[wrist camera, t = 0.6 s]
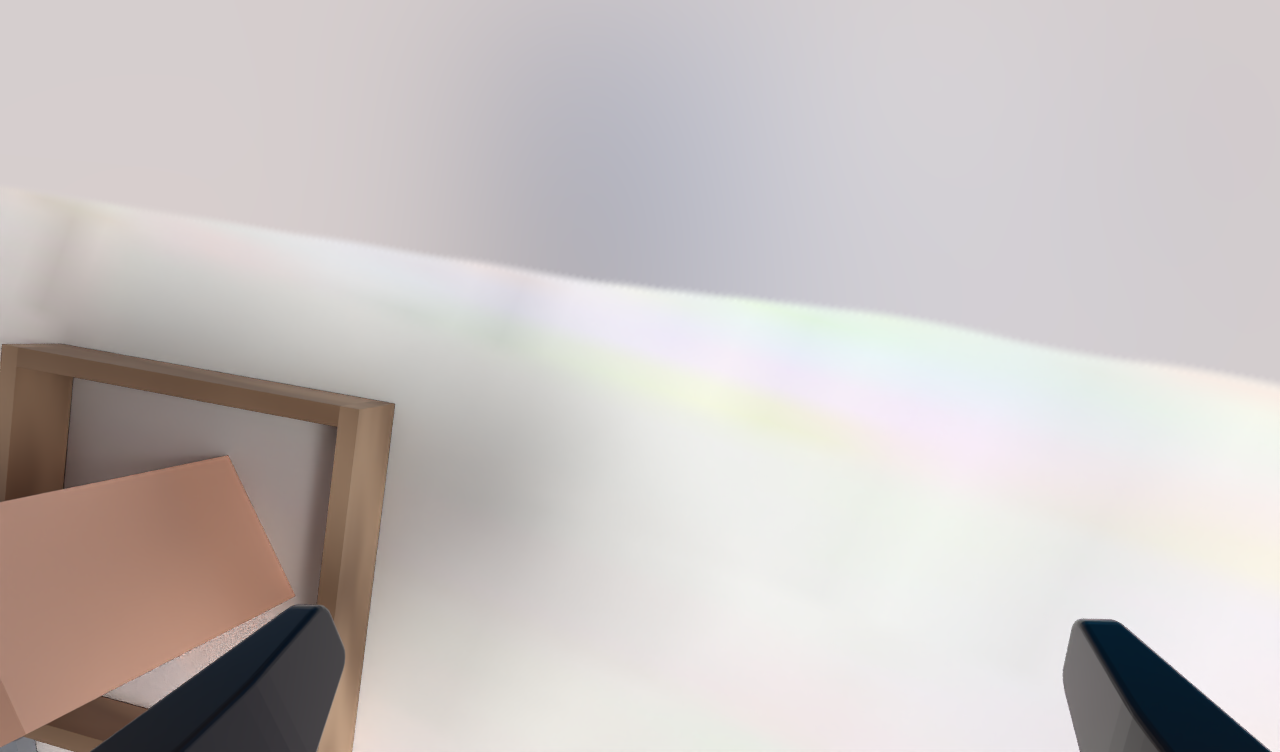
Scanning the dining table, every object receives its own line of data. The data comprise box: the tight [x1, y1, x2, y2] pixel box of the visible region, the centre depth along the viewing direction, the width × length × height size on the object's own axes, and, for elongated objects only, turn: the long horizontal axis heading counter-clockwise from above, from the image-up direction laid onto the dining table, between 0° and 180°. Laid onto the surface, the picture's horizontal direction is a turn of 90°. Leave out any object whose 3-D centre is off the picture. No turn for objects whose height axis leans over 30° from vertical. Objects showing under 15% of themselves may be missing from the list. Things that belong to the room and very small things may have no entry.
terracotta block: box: [0, 455, 295, 747], centre depth 21 cm, size 5×5×9 cm
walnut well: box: [0, 344, 395, 752], centre depth 25 cm, size 12×12×2 cm
